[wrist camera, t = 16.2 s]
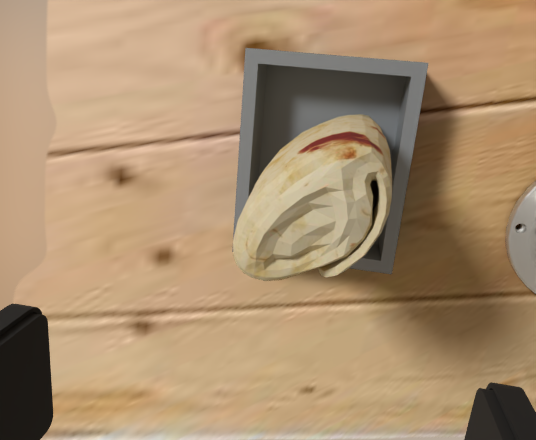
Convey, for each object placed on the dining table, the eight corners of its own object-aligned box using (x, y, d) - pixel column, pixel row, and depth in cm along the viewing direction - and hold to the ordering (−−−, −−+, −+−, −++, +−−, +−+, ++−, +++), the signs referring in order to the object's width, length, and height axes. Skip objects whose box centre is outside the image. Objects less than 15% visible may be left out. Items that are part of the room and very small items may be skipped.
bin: (419, 64, 38) (428, 62, 34) (387, 252, 43) (391, 274, 38) (258, 51, 40) (245, 48, 35) (245, 233, 45) (232, 251, 40)
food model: (350, 87, 39) (348, 99, 20) (401, 151, 40) (446, 221, 21) (260, 163, 42) (183, 237, 23) (309, 222, 43) (274, 340, 24)
